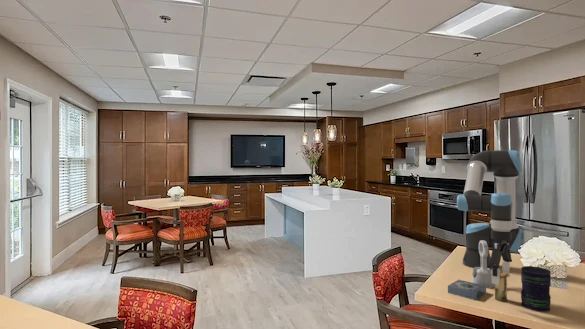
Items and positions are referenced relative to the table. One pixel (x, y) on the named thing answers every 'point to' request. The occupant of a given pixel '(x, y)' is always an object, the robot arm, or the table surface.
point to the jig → (467, 289)
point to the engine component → (483, 268)
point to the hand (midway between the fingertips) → (500, 280)
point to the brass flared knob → (502, 287)
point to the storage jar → (535, 288)
